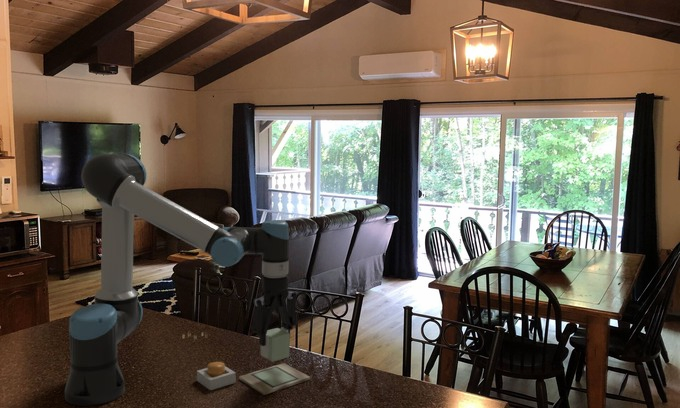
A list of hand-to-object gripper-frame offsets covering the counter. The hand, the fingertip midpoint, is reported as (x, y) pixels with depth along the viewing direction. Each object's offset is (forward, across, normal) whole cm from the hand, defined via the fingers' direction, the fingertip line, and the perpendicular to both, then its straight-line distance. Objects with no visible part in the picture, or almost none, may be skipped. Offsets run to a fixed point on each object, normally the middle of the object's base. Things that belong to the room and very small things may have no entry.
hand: (274, 352), depth 166 cm
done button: (+6, -14, +9) cm, 18 cm away
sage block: (+1, 0, 0) cm, 1 cm away
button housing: (+8, -14, +9) cm, 18 cm away
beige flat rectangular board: (+8, 0, 0) cm, 8 cm away
